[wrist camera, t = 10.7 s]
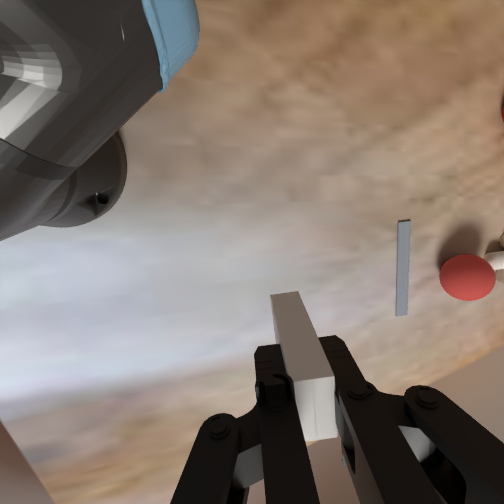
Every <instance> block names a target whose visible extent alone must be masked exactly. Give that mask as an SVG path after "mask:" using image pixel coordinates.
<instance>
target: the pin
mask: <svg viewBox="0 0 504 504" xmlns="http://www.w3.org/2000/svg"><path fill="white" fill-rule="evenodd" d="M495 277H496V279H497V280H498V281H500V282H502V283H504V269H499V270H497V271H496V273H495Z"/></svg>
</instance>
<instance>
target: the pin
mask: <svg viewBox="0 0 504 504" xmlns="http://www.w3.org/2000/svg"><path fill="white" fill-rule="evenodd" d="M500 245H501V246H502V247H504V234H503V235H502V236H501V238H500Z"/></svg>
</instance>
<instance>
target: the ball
mask: <svg viewBox="0 0 504 504" xmlns="http://www.w3.org/2000/svg"><path fill="white" fill-rule="evenodd" d="M439 277H440V283H441V285H442V287H443V288H444V290H445V291H446V292H447V293H448V294H449V295H451V296H452V297H455V298H457V299H460V300H466V301H472V300H477V299H480V298H483V297H485V296H486V295H487V294H489V293H490V292H491V290H492V289H493V287H494V285H495V279H496V278H495V272H494V270H493V268H492V266H491V265H490V264H489V263H488V262H487V261H486V260H484V259H482V258H481V257H478V256H475V255H470V254H463V255H458V256H455V257H452V258H450V259H449V260H448V261H446V262H445V263H444V265H443V266H442V268H441V270H440V276H439Z"/></svg>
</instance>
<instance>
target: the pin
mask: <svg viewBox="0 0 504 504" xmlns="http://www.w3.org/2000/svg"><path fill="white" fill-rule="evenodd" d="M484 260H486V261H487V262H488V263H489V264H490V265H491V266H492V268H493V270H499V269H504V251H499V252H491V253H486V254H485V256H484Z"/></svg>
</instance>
